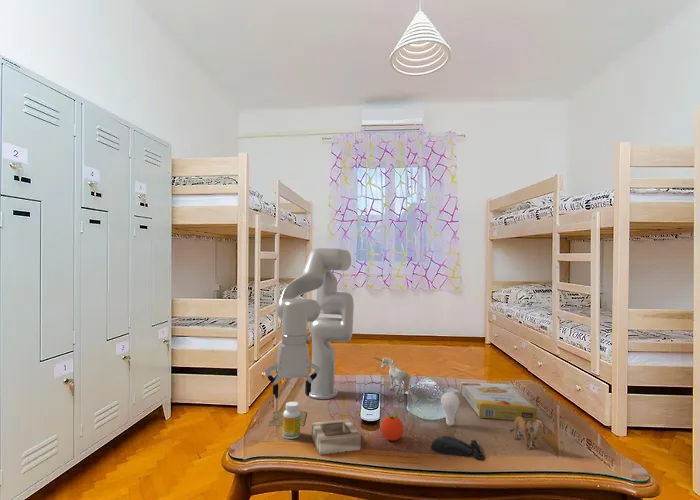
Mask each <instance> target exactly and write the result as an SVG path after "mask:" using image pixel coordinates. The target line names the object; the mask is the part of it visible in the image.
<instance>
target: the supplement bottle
mask: <svg viewBox="0 0 700 500" xmlns="http://www.w3.org/2000/svg"><path fill="white" fill-rule="evenodd" d="M299 406H300V405H299V402H297V401H288V402H286V403H285V410H283V411H284V413H283V426H282V437H283V438H284V439H285V440H294V439H297V438H299V437H300V435H301V426H300V415H301V413H300V409H299Z"/></svg>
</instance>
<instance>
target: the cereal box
mask: <svg viewBox="0 0 700 500" xmlns="http://www.w3.org/2000/svg"><path fill="white" fill-rule="evenodd" d="M461 393H462V394H461ZM460 394H461V396H462V397H463V398H464V397H465V398H464V399H465V400H466V401H467V403H468V404H469V405H470V407H471V408H472V409H473V411H474V412H475V414H476V415H478V417H479V418H481V419H494V420H507V421H515V418H516V417H518V416H519V417H522V418H524V420H525V422H527V421H531V420H537V416H538V415H537V414H538V413H537V411H538V409H537V408H536V407H535V406H534V405H533V404H531V403H530V402H529V401H528V400H526V399H525V398H524V397H523V396H521V395H520V394H519V393H518V392H517V391H515V390H514V389H513V388H512V387H510V386H509V385H508V384H507V383H491V382H490V383H489V382H486V383H485V382H468V381H467V382H465V381H460Z"/></svg>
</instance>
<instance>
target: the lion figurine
mask: <svg viewBox="0 0 700 500" xmlns="http://www.w3.org/2000/svg"><path fill="white" fill-rule="evenodd" d="M513 421H514V422H513V423H514V424H513V425H514V426H513V428H512V429H509V432H510V433H512V432H513V433H514V434H513V440H515V441H517V440H518V439H519V438H518V436H519V437H520V436H522V434H523V435H524V442H525V450H527V451H528V450H530V449H531V448H530V444H529V443H530V440H531V447H532V448H533V449H537V448H538V447H537V445H535V444H536V442H537V441H538V440H539V439H542V437H544V435H545V436H546V434H547V433H548V431H549V430H548V428H547V427H546V426H544V424H543V422H542V421H541V420H539V419H536V420H531V421H525V420H524V418H522V417H519V416H518V417H516V418H515V420H513ZM517 435H518V436H517Z"/></svg>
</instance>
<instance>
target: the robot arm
mask: <svg viewBox="0 0 700 500" xmlns="http://www.w3.org/2000/svg"><path fill="white" fill-rule="evenodd" d="M351 265H352V256H351V253H350V252H349V250H347V249H342V248H323V247H322V248H321V247H320V248H315V249H312V250H311V251H310V252H309V253H308V257H307V259H306V262H305V265H304V267H303V270H302V273H301V275H299V276H298V277H296V278H295V279H292V281H290V283H288V284H287V285H286V286H285V287H284V289H283V290H282V293H281V295H280V298H279V300H278V302H277V307H276V313H277V316H278V318H279V319H280V320H282V330H281V331H282V332H281V343H279V344H278V349H277V354H276V362H275V363H274V364H272V365H270V366H269V367H267V368H265V369H264V373H265V375H266V377H267V379H268V380H269V382H271V384H272V395H274V397H275V399H278V398H279V384H278V383H279V382H280V380H281V379H297V378H305V379H306V380H305V382H304V384H305V387H304V389H305V390H304V393H305V395H306V397H309V398H311V399H315V400H328V399H329V400H330V399H333V398H335V397H337V396H338V390H337V389H336V388H335V370H336V369H335V368H336V367H335V365H336V364H335V362H336V351H335V347H334V346H333V345H332V343H331V342H341V343H342V342H343V343H347V342H350V341H351V339H352V336H353V327H354V308H355V307H354V303H355V302H354V298H353V295H352V294H351V293H349V292H346V291H344V292H342V291H338V279H337V277H336V276H335V274H334V272H332V271H341V272H342V271H344V272H345V271H348V270H349V269H350V267H351ZM314 290H316V300H315V299H310V298H309V299H308V298H296V297H298V296H301V295H303V294H306V293H310V292H312V291H314ZM321 314H322V315H332V316H333V315H335V316H336V315H337V316H341V318H339V317H326V316H325V317H322V316H321V317H319V316H320V315H321ZM310 322H311V323H310ZM307 323H310V335H311V336H309V335H308V334H307V327H308V326H307ZM308 341H311V346H312V348H311V350H312V351H311V362H310V350H309V346H308V343H307V342H308ZM310 368H311V374H310ZM273 371H275V374H276V375H275V376H274V377H273V375H272V374H271V372H273Z"/></svg>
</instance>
